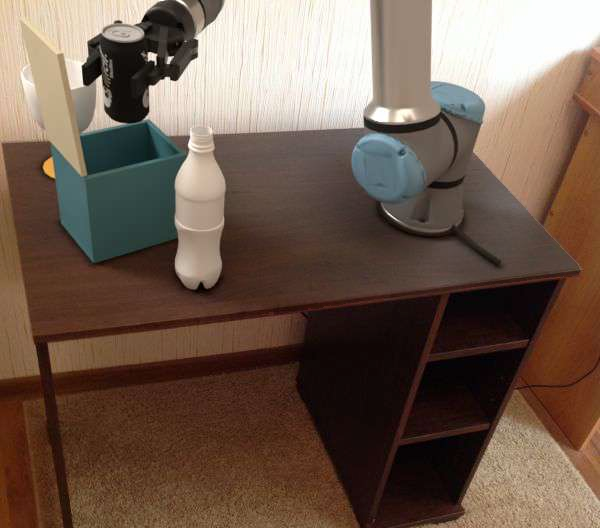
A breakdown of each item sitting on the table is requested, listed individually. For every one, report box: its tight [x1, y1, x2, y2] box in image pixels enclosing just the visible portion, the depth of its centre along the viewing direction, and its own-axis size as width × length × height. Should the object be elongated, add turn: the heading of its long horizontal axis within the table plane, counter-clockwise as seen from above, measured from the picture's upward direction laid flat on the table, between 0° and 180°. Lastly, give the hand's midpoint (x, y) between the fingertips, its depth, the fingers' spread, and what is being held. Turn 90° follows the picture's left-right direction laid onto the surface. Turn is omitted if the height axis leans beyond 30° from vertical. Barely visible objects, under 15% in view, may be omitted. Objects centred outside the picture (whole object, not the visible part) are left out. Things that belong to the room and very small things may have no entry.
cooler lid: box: [18, 15, 87, 177], centre depth 103 cm, size 18×12×1 cm
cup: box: [20, 58, 97, 180], centre depth 129 cm, size 12×12×17 cm
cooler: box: [49, 118, 188, 264], centre depth 119 cm, size 17×12×15 cm
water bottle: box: [174, 124, 227, 290], centre depth 109 cm, size 7×7×25 cm
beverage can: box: [99, 22, 151, 124], centre depth 108 cm, size 7×7×12 cm
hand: (109, 82), depth 104 cm, fingers closed on beverage can, 6 cm apart
